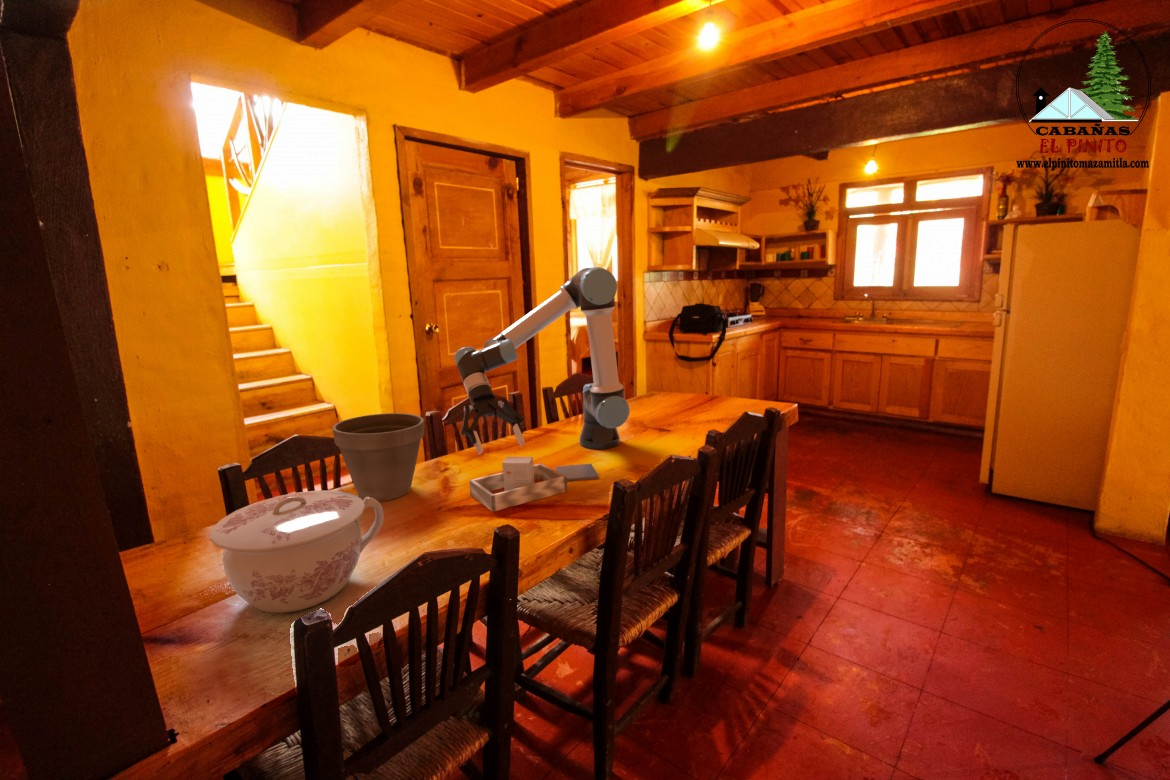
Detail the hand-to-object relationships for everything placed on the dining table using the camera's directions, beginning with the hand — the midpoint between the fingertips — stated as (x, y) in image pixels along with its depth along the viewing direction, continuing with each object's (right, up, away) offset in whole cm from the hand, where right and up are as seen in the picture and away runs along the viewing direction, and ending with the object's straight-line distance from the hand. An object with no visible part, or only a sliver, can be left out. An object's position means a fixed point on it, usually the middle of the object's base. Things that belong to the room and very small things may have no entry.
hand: (502, 448), depth 166 cm
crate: (+6, -13, -3) cm, 14 cm away
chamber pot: (-33, -24, -53) cm, 67 cm away
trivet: (+22, -9, +12) cm, 27 cm away
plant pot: (-35, -13, 0) cm, 37 cm away
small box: (+6, -13, -3) cm, 15 cm away
